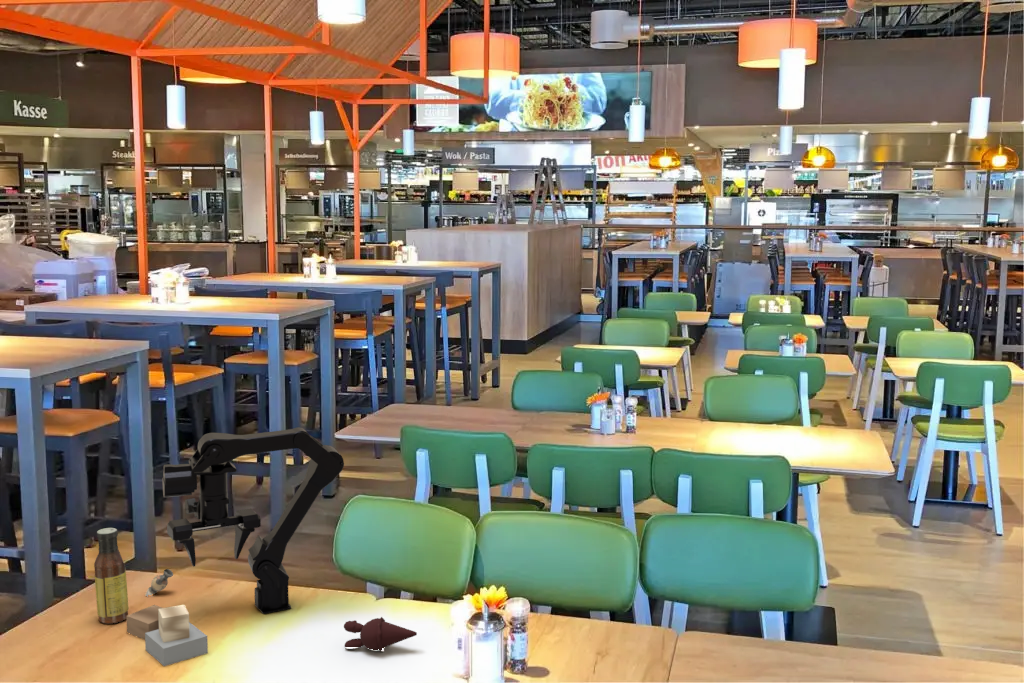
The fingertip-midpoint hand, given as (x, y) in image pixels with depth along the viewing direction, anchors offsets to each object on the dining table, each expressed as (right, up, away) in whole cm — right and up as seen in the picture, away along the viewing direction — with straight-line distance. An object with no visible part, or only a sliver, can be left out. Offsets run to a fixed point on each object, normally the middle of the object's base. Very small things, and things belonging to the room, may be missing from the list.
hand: (215, 562), depth 217 cm
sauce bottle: (-22, -12, -2) cm, 25 cm away
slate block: (-3, -15, -16) cm, 22 cm away
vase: (-16, -10, +12) cm, 23 cm away
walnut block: (-11, -13, -7) cm, 19 cm away
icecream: (+37, -15, -13) cm, 42 cm away
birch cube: (-3, -11, -17) cm, 20 cm away
